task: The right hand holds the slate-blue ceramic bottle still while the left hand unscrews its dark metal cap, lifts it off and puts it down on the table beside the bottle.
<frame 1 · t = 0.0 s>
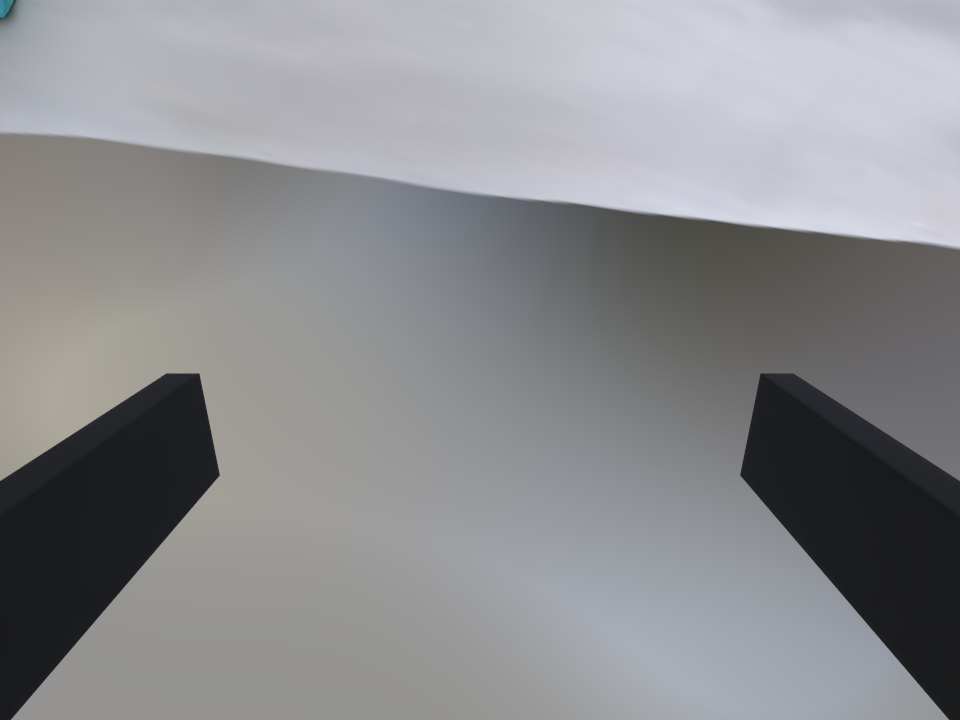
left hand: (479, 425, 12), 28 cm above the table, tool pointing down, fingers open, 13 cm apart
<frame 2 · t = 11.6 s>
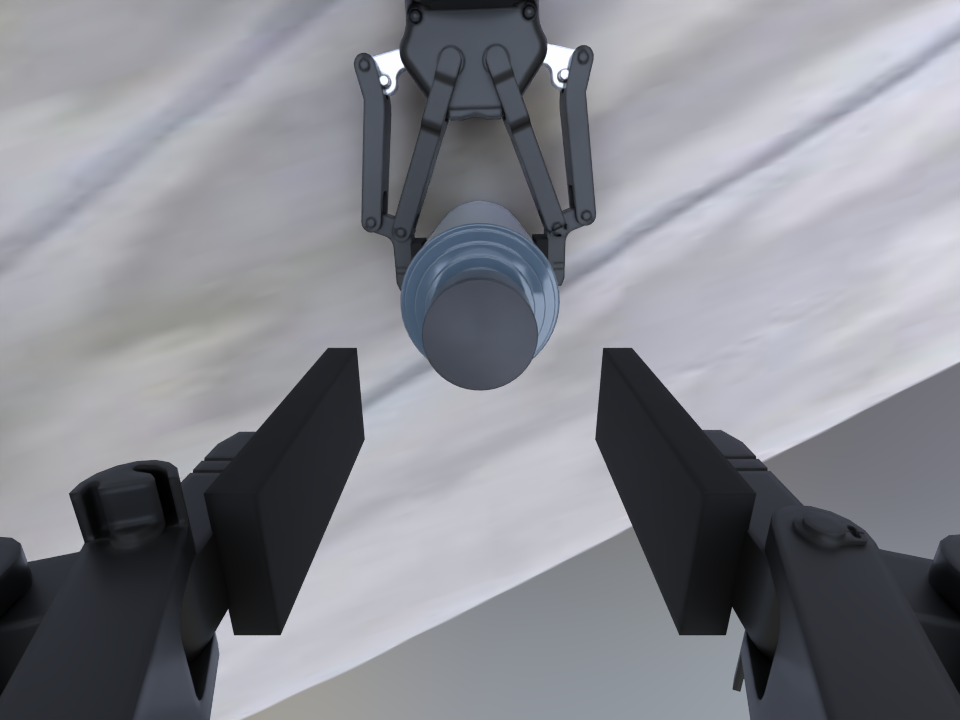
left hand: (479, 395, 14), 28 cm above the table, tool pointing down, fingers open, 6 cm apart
right hand: (482, 333, 36), fingers closed on bottle, 7 cm apart
cap: (480, 334, 19), point 22 cm above the table, screwed on, not yet turned
bottle: (480, 249, 40), on the table, touching right hand
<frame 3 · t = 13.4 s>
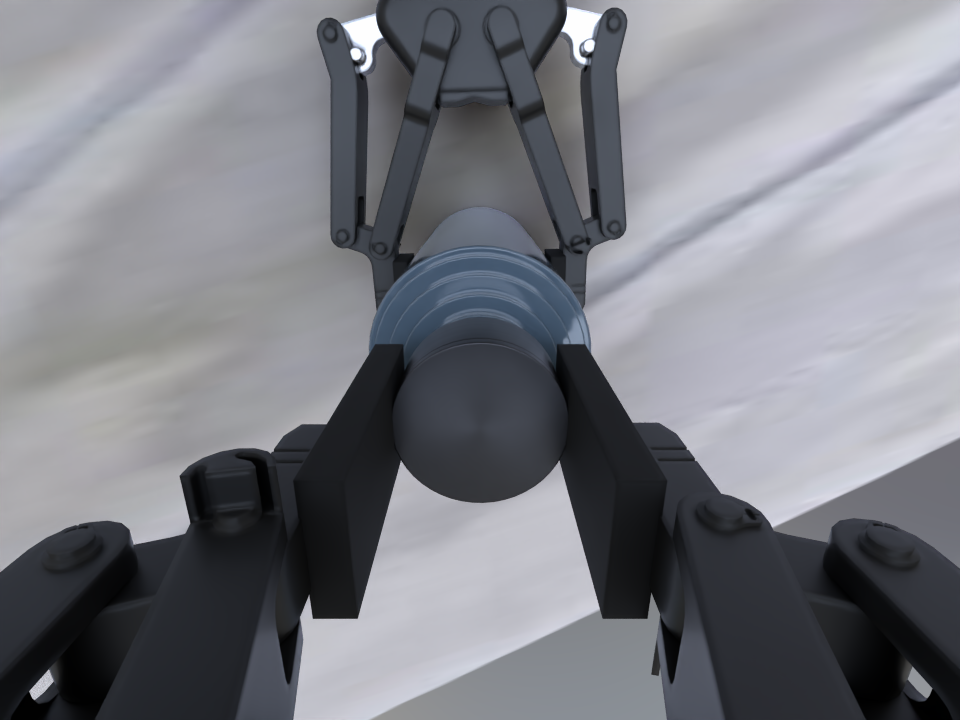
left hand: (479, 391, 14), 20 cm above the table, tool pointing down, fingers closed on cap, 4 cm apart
right hand: (482, 370, 29), fingers closed on bottle, 7 cm apart
cap: (480, 421, 12), point 22 cm above the table, screwed on, not yet turned, touching left hand
bottle: (479, 264, 33), on the table, touching right hand
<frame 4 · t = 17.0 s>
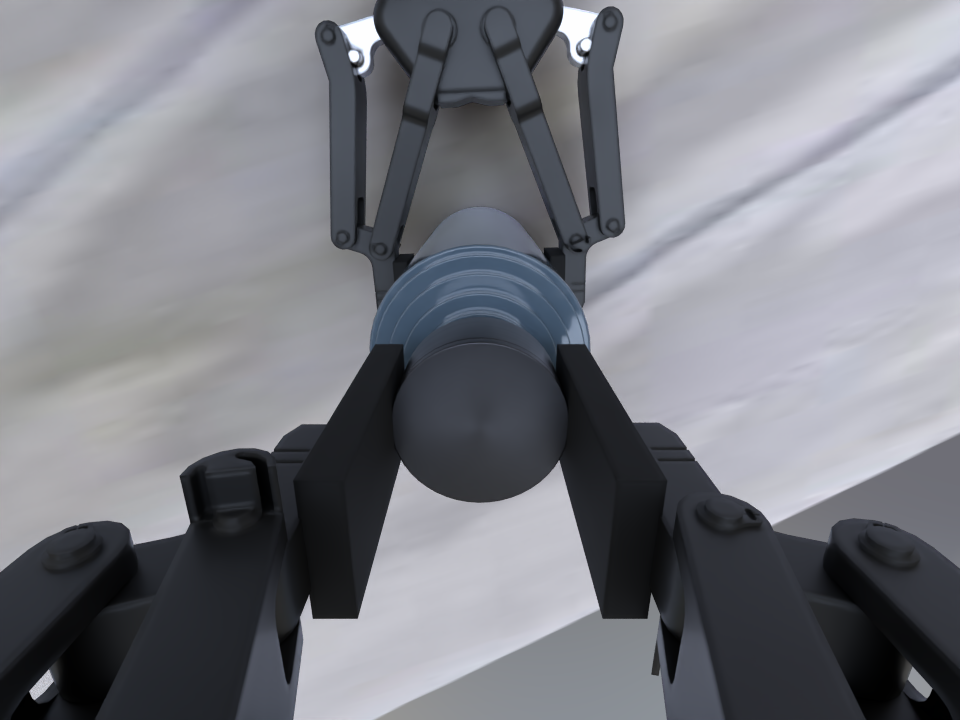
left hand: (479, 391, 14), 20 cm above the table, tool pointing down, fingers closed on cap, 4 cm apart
right hand: (483, 369, 29), fingers closed on bottle, 7 cm apart
cap: (480, 421, 12), point 22 cm above the table, turned 109° so far, risen 0.1 cm, still on its thread, touching left hand
bottle: (479, 264, 33), on the table, touching right hand
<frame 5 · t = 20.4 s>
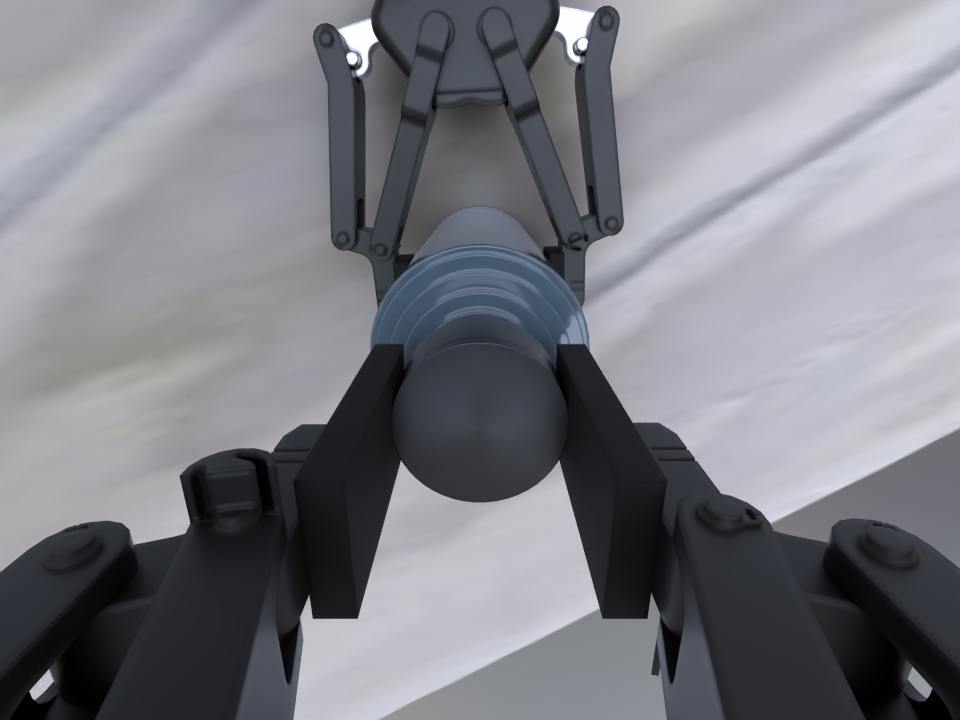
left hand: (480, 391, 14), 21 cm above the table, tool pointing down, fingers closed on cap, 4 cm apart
right hand: (484, 368, 30), fingers closed on bottle, 7 cm apart
cap: (480, 421, 12), point 22 cm above the table, turned 218° so far, risen 0.3 cm, still on its thread, touching left hand
bottle: (479, 264, 34), on the table, touching right hand
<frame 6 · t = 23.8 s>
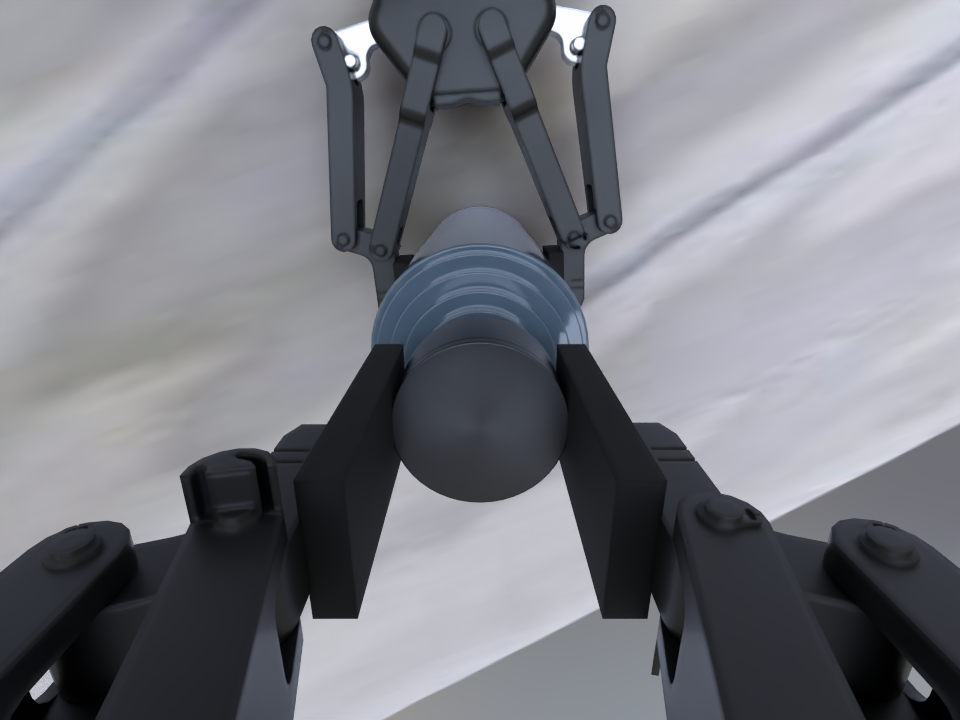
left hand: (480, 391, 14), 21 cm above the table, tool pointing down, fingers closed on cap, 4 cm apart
right hand: (485, 367, 30), fingers closed on bottle, 7 cm apart
cap: (479, 421, 12), point 23 cm above the table, turned 327° so far, risen 0.4 cm, still on its thread, touching left hand
bottle: (479, 263, 34), on the table, touching right hand
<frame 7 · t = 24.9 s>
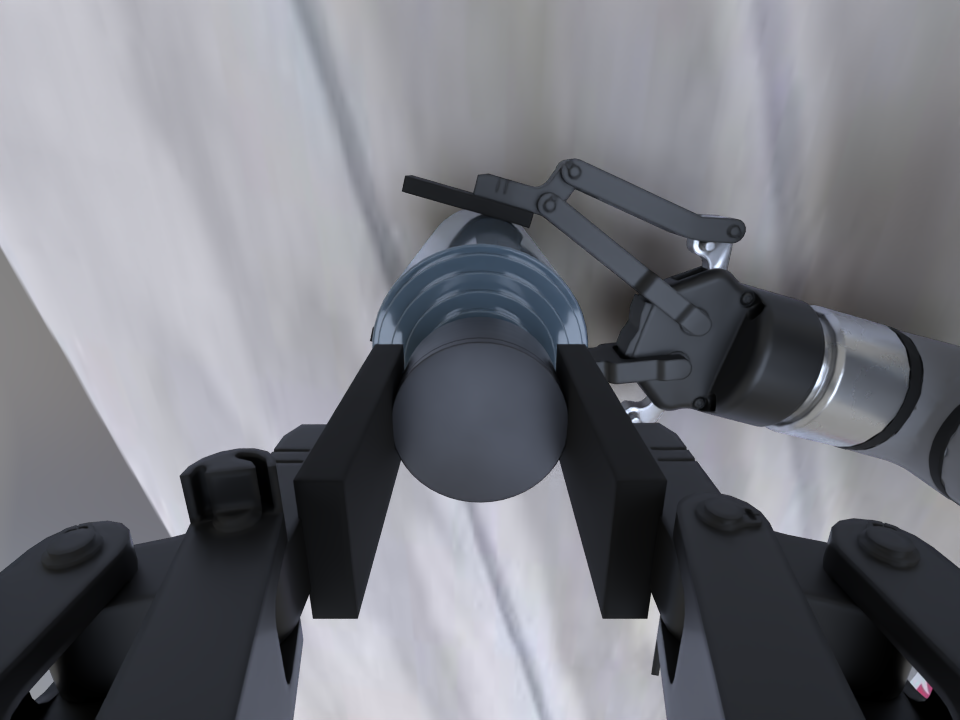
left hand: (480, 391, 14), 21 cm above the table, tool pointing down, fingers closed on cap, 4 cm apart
right hand: (391, 258, 28), fingers closed on bottle, 7 cm apart
cap: (479, 421, 12), point 23 cm above the table, off its thread, touching left hand
bottle: (480, 264, 34), on the table, touching right hand
when the left hand's fingers open (1 cm above the table, at t = 31.5 s): cap stays where it is, point 2 cm above the table.
when the right hand's fingers open (6 cm above the table, at t = 32.7 s): bottle stays where it is, on the table.
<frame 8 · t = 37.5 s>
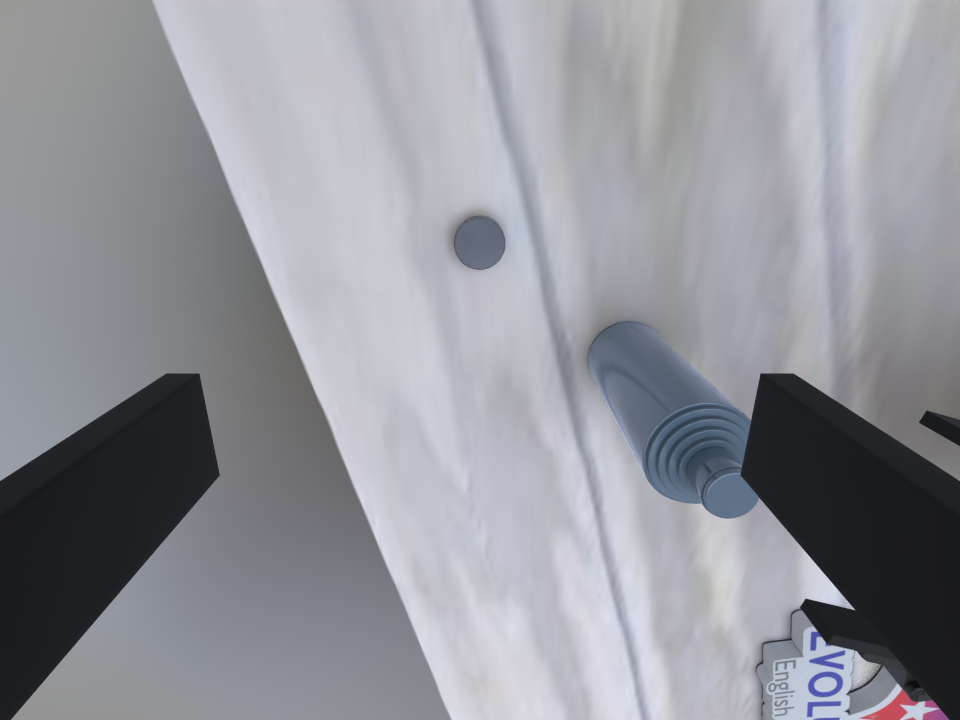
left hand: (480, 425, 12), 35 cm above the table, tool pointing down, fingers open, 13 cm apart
cap: (479, 243, 43), point 2 cm above the table, off its thread
bottle: (625, 358, 49), on the table
decorative sign: (878, 694, 64), on the table
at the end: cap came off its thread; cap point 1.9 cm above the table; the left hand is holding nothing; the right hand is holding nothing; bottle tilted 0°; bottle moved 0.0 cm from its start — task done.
